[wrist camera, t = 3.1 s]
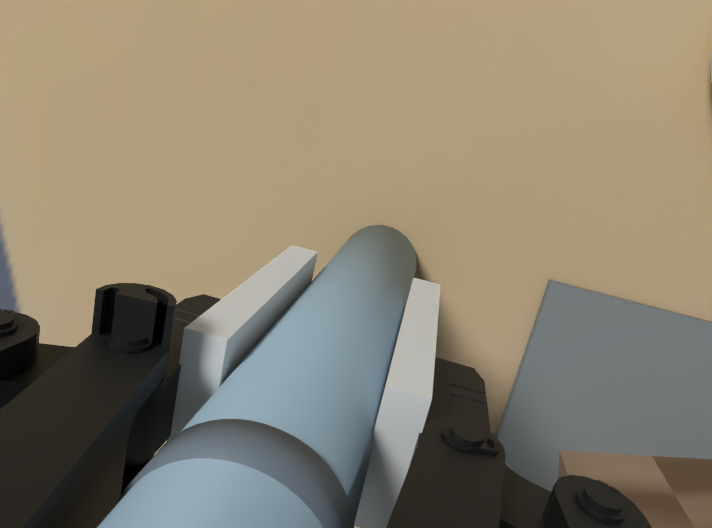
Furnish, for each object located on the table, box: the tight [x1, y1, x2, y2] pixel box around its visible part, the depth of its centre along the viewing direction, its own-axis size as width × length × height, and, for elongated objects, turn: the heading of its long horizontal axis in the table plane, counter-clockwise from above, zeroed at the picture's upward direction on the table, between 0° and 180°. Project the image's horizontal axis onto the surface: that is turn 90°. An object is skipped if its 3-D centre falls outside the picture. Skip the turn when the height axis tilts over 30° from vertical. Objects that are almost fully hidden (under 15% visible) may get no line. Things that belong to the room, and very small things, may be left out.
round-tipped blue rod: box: [97, 225, 417, 528], centre depth 13 cm, size 3×3×16 cm
